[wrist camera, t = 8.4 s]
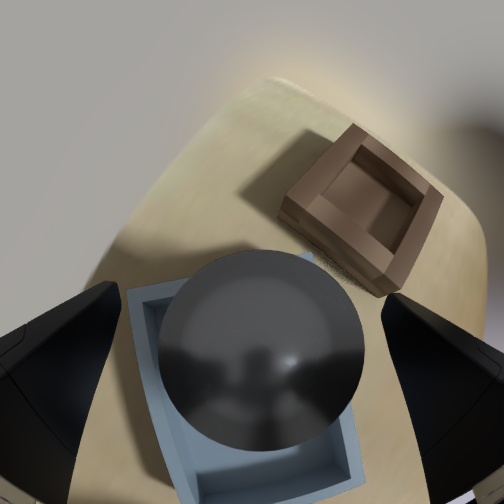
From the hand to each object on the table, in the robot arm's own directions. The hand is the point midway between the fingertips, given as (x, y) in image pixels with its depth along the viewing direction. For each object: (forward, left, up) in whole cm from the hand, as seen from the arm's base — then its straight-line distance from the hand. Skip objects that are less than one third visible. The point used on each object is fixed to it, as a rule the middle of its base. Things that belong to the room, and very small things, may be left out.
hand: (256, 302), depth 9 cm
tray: (-4, +1, -9) cm, 10 cm away
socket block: (+6, -10, -9) cm, 15 cm away
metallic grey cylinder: (-1, 0, -8) cm, 8 cm away
